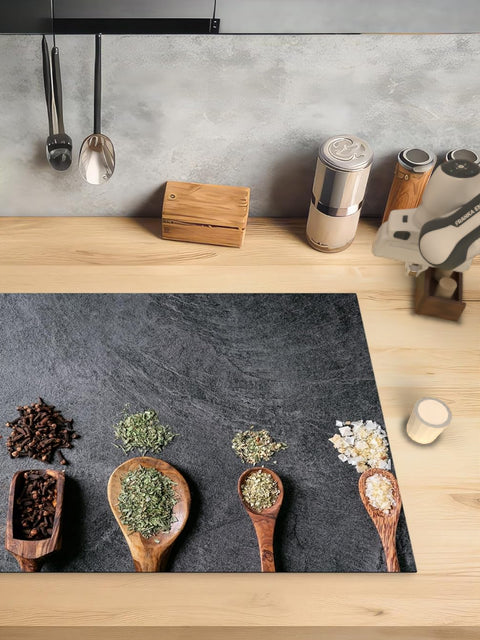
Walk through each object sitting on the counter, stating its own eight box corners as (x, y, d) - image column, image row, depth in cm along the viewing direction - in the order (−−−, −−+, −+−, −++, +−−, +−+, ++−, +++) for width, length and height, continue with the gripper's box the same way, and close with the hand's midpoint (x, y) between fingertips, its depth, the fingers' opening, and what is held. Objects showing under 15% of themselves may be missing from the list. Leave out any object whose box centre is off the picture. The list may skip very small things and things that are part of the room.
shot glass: (442, 447, 140) (455, 428, 134) (406, 445, 140) (417, 427, 135) (435, 416, 144) (448, 397, 138) (400, 415, 144) (411, 395, 139)
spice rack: (457, 269, 167) (468, 248, 162) (457, 321, 158) (468, 301, 153) (416, 261, 168) (426, 241, 163) (414, 313, 159) (423, 293, 154)
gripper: (485, 226, 150) (460, 272, 161) (383, 209, 153) (366, 255, 165) (485, 248, 146) (460, 293, 158) (381, 229, 150) (363, 275, 161)
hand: (411, 274), depth 161 cm, fingers closed
